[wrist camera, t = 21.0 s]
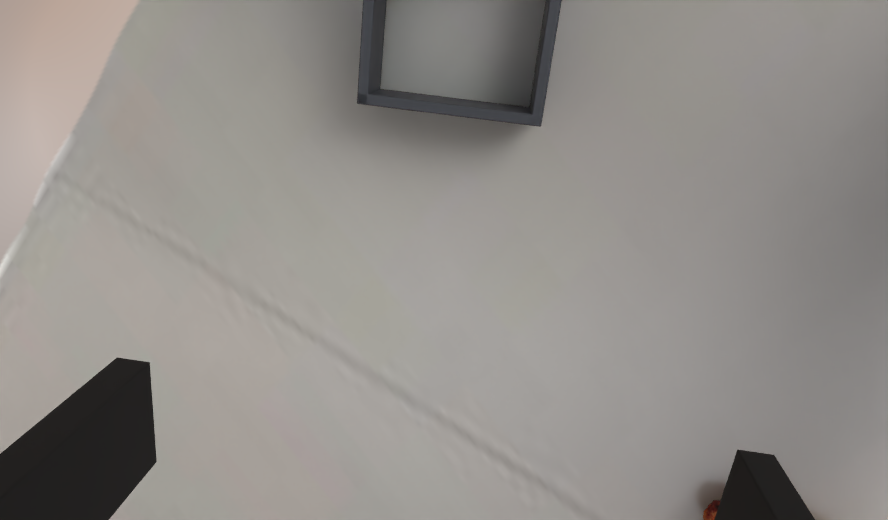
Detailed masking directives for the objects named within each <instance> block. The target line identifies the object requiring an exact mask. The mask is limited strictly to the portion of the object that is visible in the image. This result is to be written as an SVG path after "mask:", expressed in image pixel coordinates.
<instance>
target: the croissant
mask: <svg viewBox="0 0 888 520" xmlns="http://www.w3.org/2000/svg"><path fill="white" fill-rule="evenodd" d="M719 504H720V501H719V500H714V501H713V502H712V503H711V504H709V505H708V508H707V509H705V510H704V515H703V518H704V520H714V519H715V516H716V513H717V510H718V507H719Z"/></svg>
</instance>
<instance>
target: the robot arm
mask: <svg viewBox="0 0 888 520" xmlns="http://www.w3.org/2000/svg"><path fill="white" fill-rule="evenodd" d="M155 463H156V448H155V434H154V419H153V405H152V391H151V377H150V362H143V361H136V360H129V359H123V358H116V359H115V360H114V361H112V362H111V363H110V364H109V365H108V366H106V367H105V368H104V369H103V370H101V371H100V372H99V373H98V374H97V375H95V376H94V377H93V378H92V379H91V380H89V381H88V382H87V383H86V384H84V385H83V386H82V387H81V388H80V389H78V390H77V391H76V392H75V393H74V394H72V395H71V396H70V397H69V398H67V399H66V400H65V401H64V402H63V403H61V404H60V405H59V406H58V407H57V408H55V409H54V410H53V411H52V412H50V413H49V414H48V415H47V416H46V417H44V418H43V419H42V420H41V421H40V422H38V423H37V424H36V425H35V426H33V427H32V428H31V429H30V430H29V431H27V432H26V433H25V434H24V435H23V436H21V437H20V438H19V439H18V440H16V441H15V442H14V443H13V444H12V445H10V446H9V447H8V448H7V449H6V450H4V451H3V452H2V453H1V454H0V520H109V519H110V517H111V516H112V515H113V514H114V513H115V511H116V510H117V509H118V508H119V506H120V505H121V504H122V503H123V502H124V500H125V499H126V498H127V497H128V496H129V494H130V493H131V492H132V491H133V490H134V488H135V487H136V486H137V485H138V483H139V482H140V481H141V480H142V479H143V477H144V476H145V475H146V474H147V473H148V471H149V470H150V469H151V468H152V467H153V465H154V464H155ZM714 520H815V519H814V518H813V516H812V514H811V513H810V511H809V510H808V508H807V507H806V505H805V503H804V502H803V500H802V499H801V497H800V495H799V494H798V492H797V491H796V489H795V488H794V486H793V484H792V483H791V481H790V480H789V478H788V477H787V475H786V473H785V472H784V470H783V469H782V467H781V465H780V464H779V462H778V461H777V459H776V458H775V456H774V455H770V454H764V453H757V452H750V451H743V450H737V453H736V456H735V459H734V462H733V465H732V468H731V471H730V474H729V477H728V480H727V483H726V486H725V489H724V492H723V495H722V498H721V501H720V504H719V507H718V510H717V513H716V516H715V519H714Z"/></svg>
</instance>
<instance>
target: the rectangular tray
mask: <svg viewBox="0 0 888 520" xmlns="http://www.w3.org/2000/svg"><path fill="white" fill-rule="evenodd" d="M561 1H562V0H546V3H545V10H544V16H543V23H542V29H541V35H540V42H539V48H538V55H537V61H536V68H535V74H534V80H533V87H532V93H531V100H530V106H529V107H521V106H513V105H505V104H497V103H489V102H481V101H473V100H465V99H456V98H448V97H440V96H432V95H424V94H416V93H408V92H400V91H392V90H384V89H380V83H381V69H382V55H383V42H384V28H385V14H386V0H363V14H362V30H361V47H360V64H359V80H358V97H357V103H358V104H364V105H372V106H380V107H388V108H396V109H404V110H412V111H420V112H428V113H436V114H444V115H452V116H460V117H468V118H476V119H484V120H492V121H500V122H508V123H516V124H524V125H532V126H541V123H542V117H543V111H544V105H545V98H546V92H547V86H548V80H549V74H550V68H551V62H552V56H553V50H554V43H555V37H556V31H557V25H558V19H559V13H560V7H561Z"/></svg>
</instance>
